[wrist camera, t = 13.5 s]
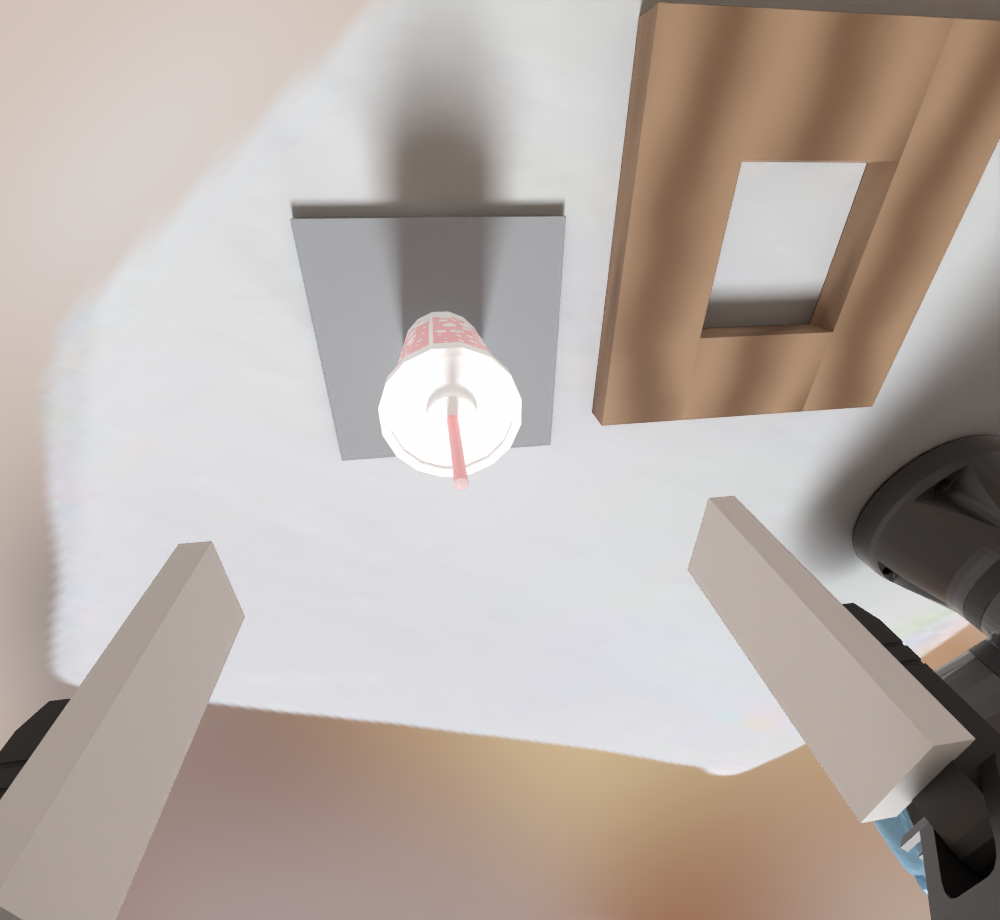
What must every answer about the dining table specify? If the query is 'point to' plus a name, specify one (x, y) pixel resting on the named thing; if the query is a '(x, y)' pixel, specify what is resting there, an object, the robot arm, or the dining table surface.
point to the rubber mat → (430, 306)
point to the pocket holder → (786, 138)
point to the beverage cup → (449, 400)
